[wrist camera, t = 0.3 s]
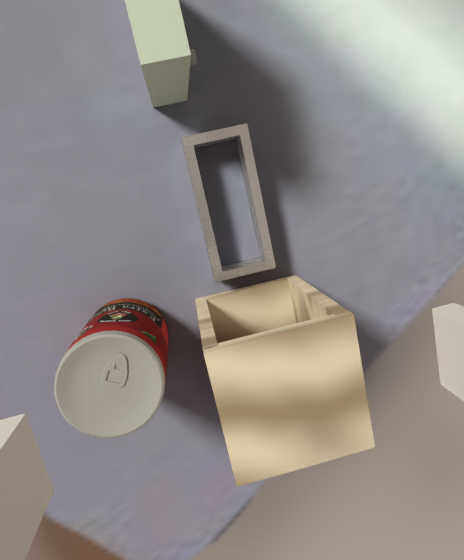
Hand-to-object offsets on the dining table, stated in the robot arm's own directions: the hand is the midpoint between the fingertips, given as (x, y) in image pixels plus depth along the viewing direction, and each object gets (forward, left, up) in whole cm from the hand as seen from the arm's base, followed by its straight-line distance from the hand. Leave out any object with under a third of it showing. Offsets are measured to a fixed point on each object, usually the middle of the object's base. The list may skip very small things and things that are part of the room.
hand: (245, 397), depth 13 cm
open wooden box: (+8, +4, -27) cm, 28 cm away
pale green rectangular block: (-19, +1, -27) cm, 33 cm away
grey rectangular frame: (-5, +4, -27) cm, 27 cm away
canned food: (+5, -8, -27) cm, 29 cm away
